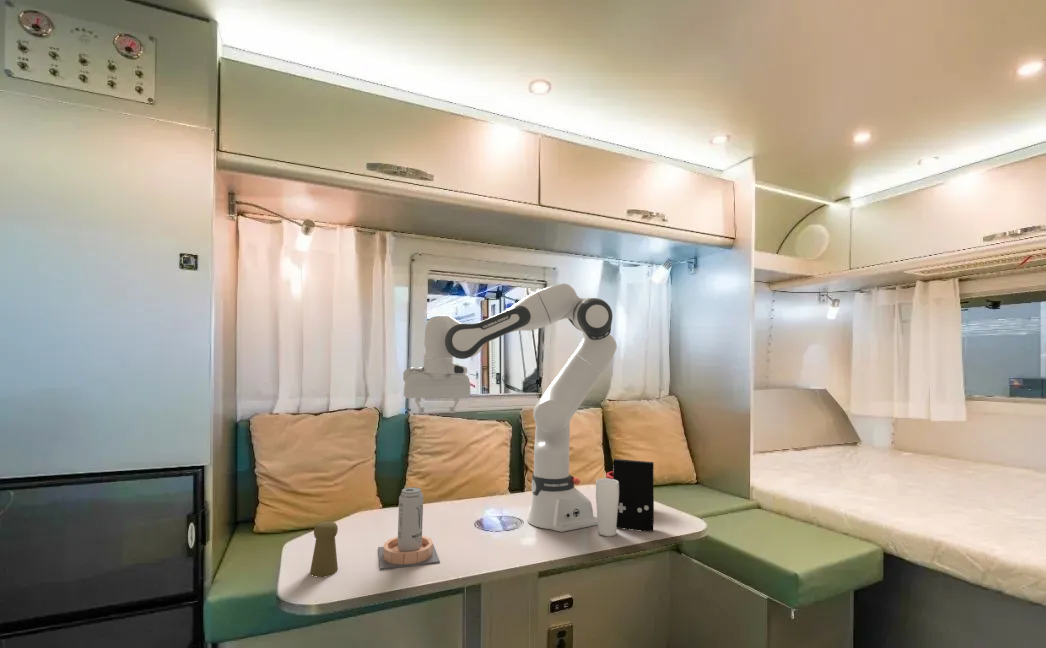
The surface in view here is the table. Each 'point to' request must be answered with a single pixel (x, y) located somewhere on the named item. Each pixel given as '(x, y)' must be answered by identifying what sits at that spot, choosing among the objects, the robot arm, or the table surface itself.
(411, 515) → the energy drink can
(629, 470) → the handheld gaming console
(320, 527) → the cork
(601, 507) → the drinking glass
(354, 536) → the table surface
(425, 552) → the dish
